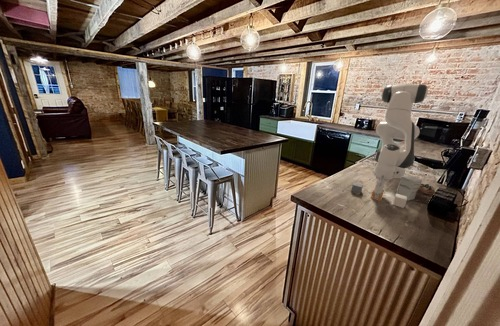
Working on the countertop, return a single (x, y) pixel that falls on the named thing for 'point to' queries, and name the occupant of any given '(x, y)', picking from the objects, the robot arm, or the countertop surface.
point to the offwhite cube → (400, 200)
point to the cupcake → (424, 193)
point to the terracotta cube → (378, 197)
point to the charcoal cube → (356, 188)
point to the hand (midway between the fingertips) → (376, 195)
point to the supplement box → (408, 186)
